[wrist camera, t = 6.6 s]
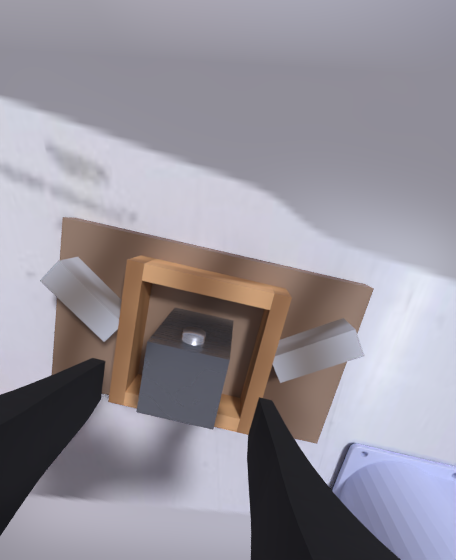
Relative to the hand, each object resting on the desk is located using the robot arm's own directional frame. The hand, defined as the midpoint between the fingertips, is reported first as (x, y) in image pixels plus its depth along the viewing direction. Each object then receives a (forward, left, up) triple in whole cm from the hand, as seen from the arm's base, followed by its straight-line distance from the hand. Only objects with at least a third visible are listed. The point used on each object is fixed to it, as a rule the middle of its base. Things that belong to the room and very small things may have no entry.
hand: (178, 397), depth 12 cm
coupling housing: (0, 0, -7) cm, 7 cm away
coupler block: (0, 0, -6) cm, 6 cm away
